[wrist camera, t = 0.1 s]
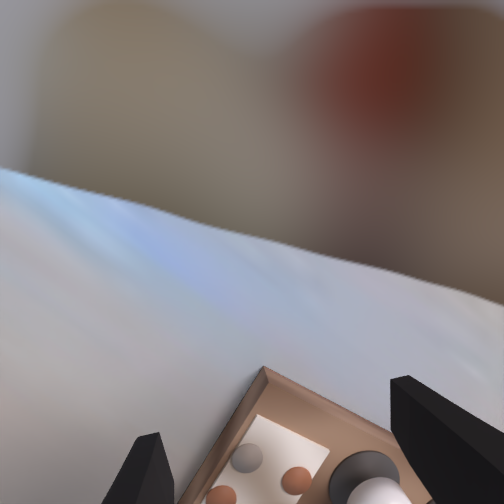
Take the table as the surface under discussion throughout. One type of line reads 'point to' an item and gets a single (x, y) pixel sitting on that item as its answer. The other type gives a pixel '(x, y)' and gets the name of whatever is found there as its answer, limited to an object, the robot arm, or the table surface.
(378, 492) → the button
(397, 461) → the button board
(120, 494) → the robot arm
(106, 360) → the table surface
